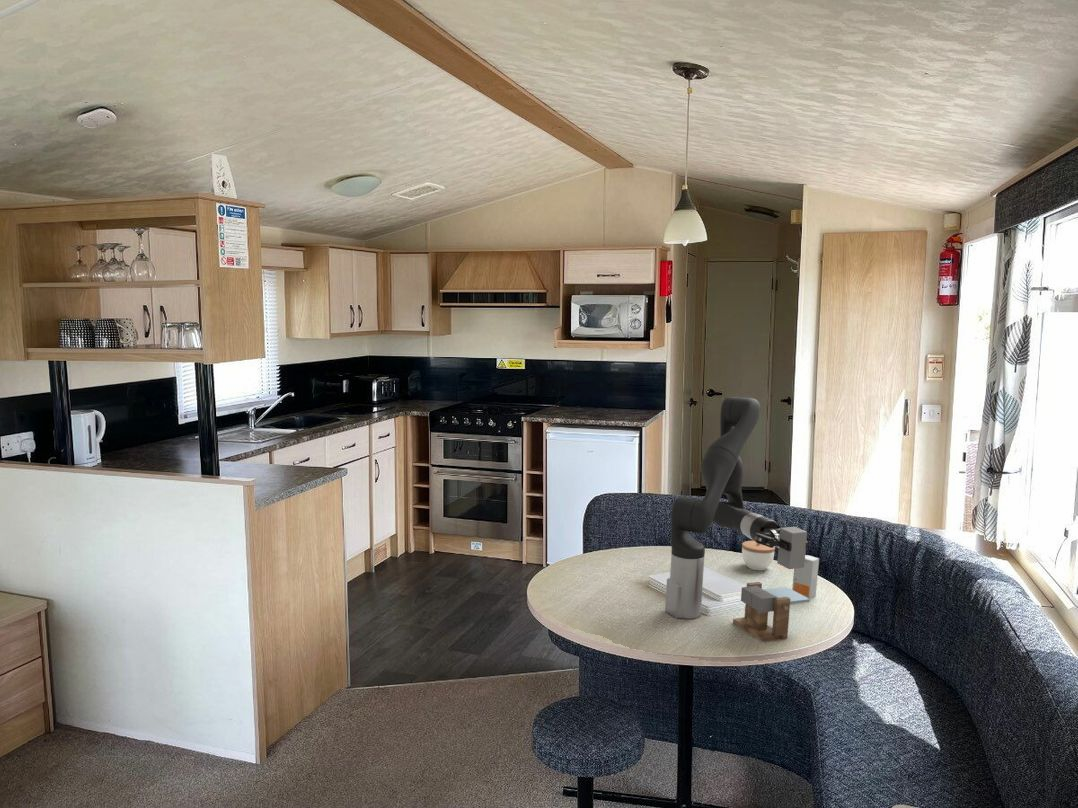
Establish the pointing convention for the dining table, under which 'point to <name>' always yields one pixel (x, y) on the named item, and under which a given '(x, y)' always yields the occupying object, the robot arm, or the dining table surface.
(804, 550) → the basalt block
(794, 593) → the trapdoor
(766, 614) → the trapdoor frame
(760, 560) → the lidded jar
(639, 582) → the dining table surface
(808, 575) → the skincare box
